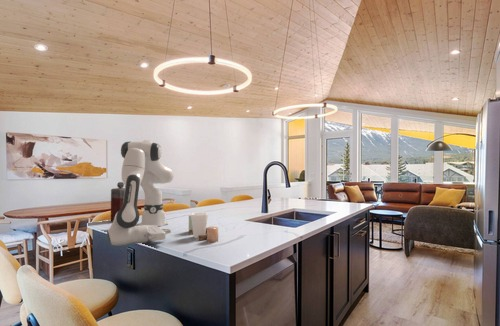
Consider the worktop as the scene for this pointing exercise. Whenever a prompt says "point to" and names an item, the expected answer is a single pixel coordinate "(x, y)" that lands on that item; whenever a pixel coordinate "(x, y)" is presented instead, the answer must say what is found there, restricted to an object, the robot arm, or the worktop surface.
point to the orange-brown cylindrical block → (212, 234)
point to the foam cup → (199, 223)
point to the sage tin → (190, 223)
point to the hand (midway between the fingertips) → (169, 230)
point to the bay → (200, 237)
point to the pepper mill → (117, 199)
